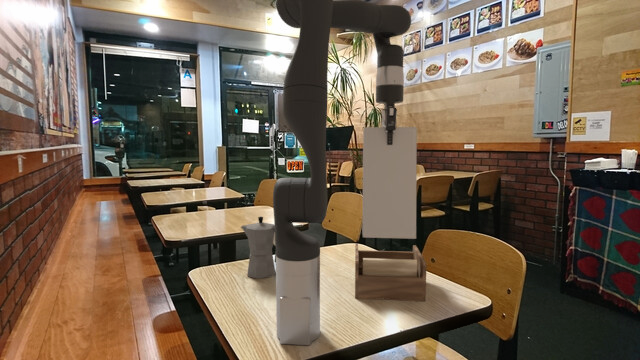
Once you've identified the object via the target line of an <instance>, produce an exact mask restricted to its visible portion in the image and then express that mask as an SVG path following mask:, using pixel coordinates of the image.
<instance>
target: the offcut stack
mask: <svg viewBox="0 0 640 360" xmlns="http://www.w3.org/2000/svg"><path fill="white" fill-rule="evenodd" d="M363 275H372V276H400V277H417V260H412V259H380V258H363Z"/></svg>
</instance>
